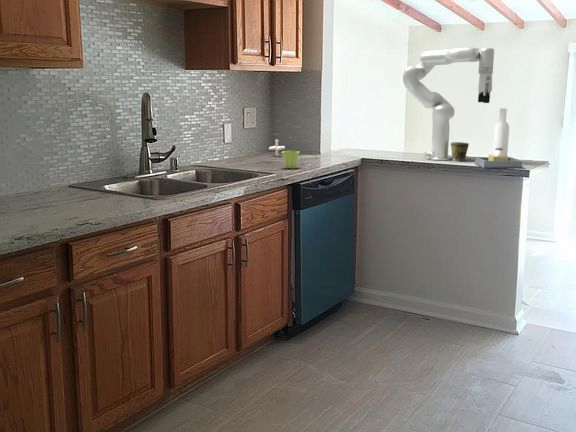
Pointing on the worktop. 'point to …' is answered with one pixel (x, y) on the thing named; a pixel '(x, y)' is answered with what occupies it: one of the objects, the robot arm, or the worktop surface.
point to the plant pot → (290, 158)
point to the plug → (498, 151)
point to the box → (498, 162)
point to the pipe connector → (276, 147)
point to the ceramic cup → (459, 150)
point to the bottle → (501, 133)
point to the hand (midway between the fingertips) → (483, 102)
